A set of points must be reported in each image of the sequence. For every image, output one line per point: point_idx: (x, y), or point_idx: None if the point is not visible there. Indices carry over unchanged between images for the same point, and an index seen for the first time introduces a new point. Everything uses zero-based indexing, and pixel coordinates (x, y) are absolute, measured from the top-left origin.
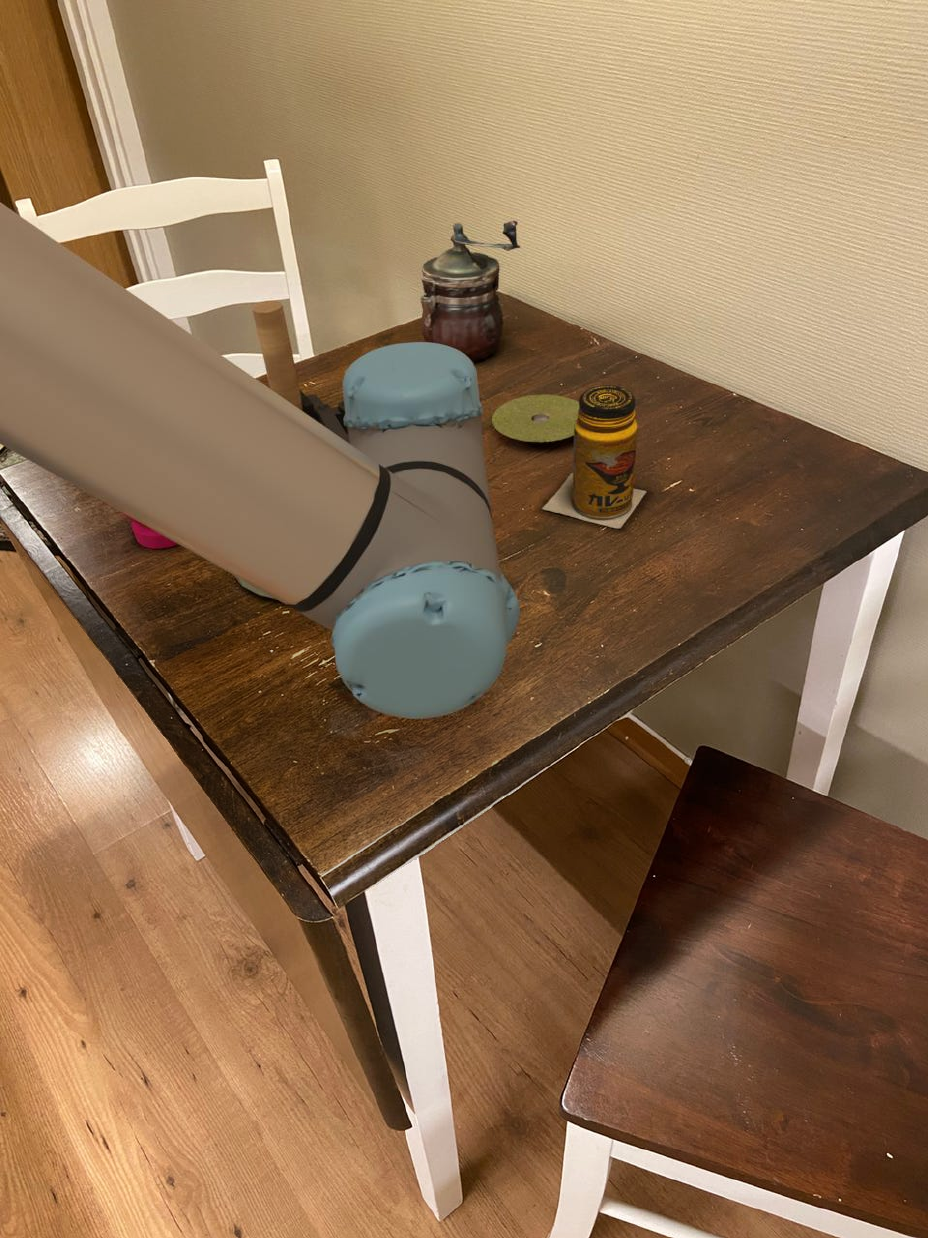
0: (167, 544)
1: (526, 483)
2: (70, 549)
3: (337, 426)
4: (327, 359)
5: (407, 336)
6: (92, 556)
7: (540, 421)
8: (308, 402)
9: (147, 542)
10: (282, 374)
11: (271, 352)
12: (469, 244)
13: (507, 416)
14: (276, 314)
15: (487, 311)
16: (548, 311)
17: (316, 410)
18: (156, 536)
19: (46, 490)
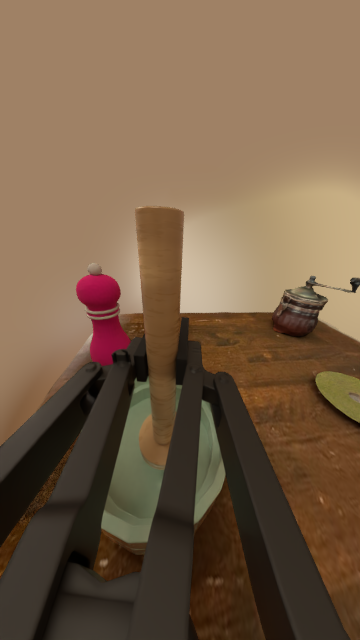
0: None
1: (356, 467)
2: (79, 355)
3: (191, 439)
4: (228, 314)
5: (262, 315)
6: (79, 364)
7: (352, 397)
8: (183, 354)
9: None
10: (154, 316)
11: (144, 281)
12: (320, 285)
13: (327, 384)
14: (161, 217)
15: (313, 317)
16: (330, 325)
17: (185, 371)
18: None
19: None
